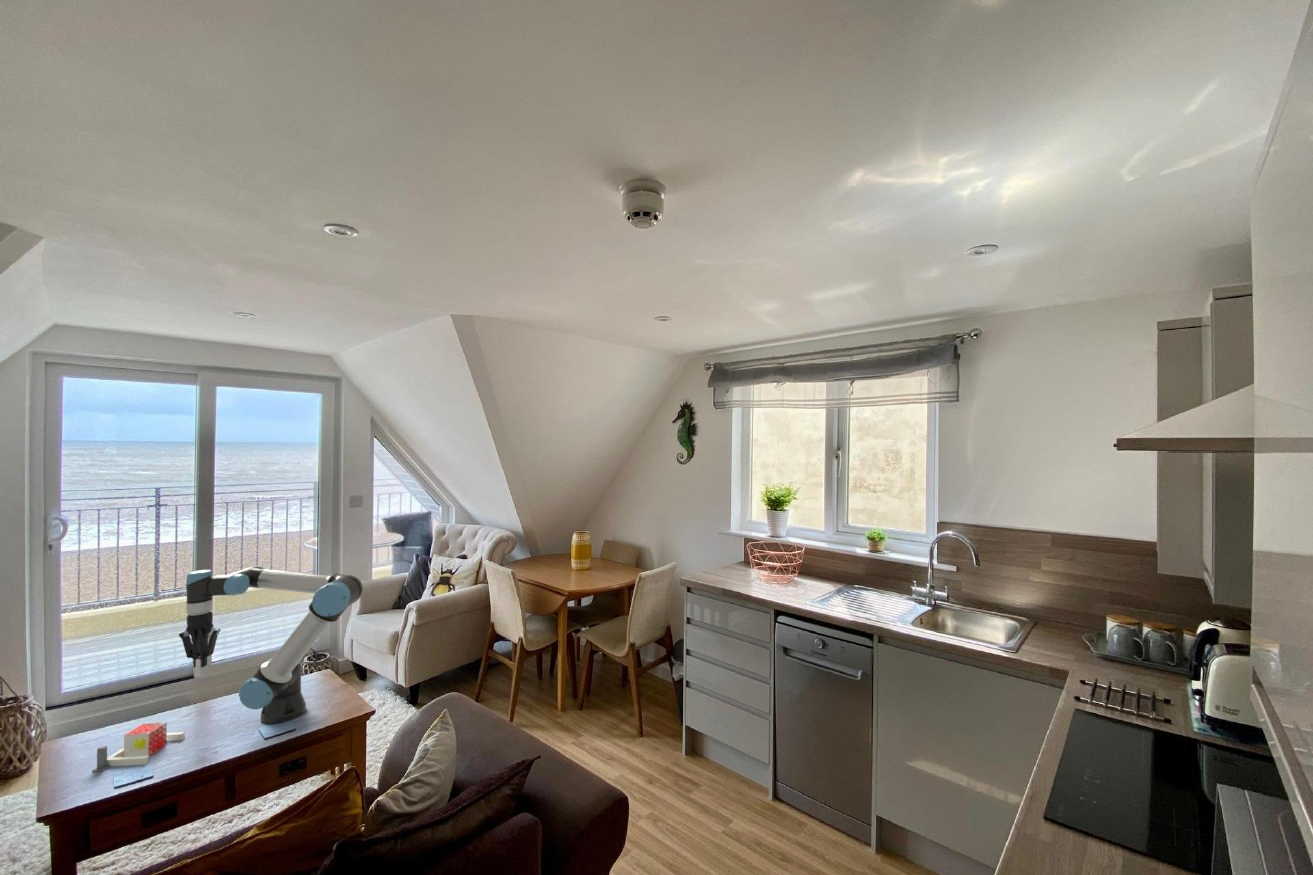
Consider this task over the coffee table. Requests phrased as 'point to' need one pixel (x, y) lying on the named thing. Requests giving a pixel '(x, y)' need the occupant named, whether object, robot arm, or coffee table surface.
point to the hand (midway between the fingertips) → (200, 675)
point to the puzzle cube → (145, 739)
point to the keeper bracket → (120, 760)
